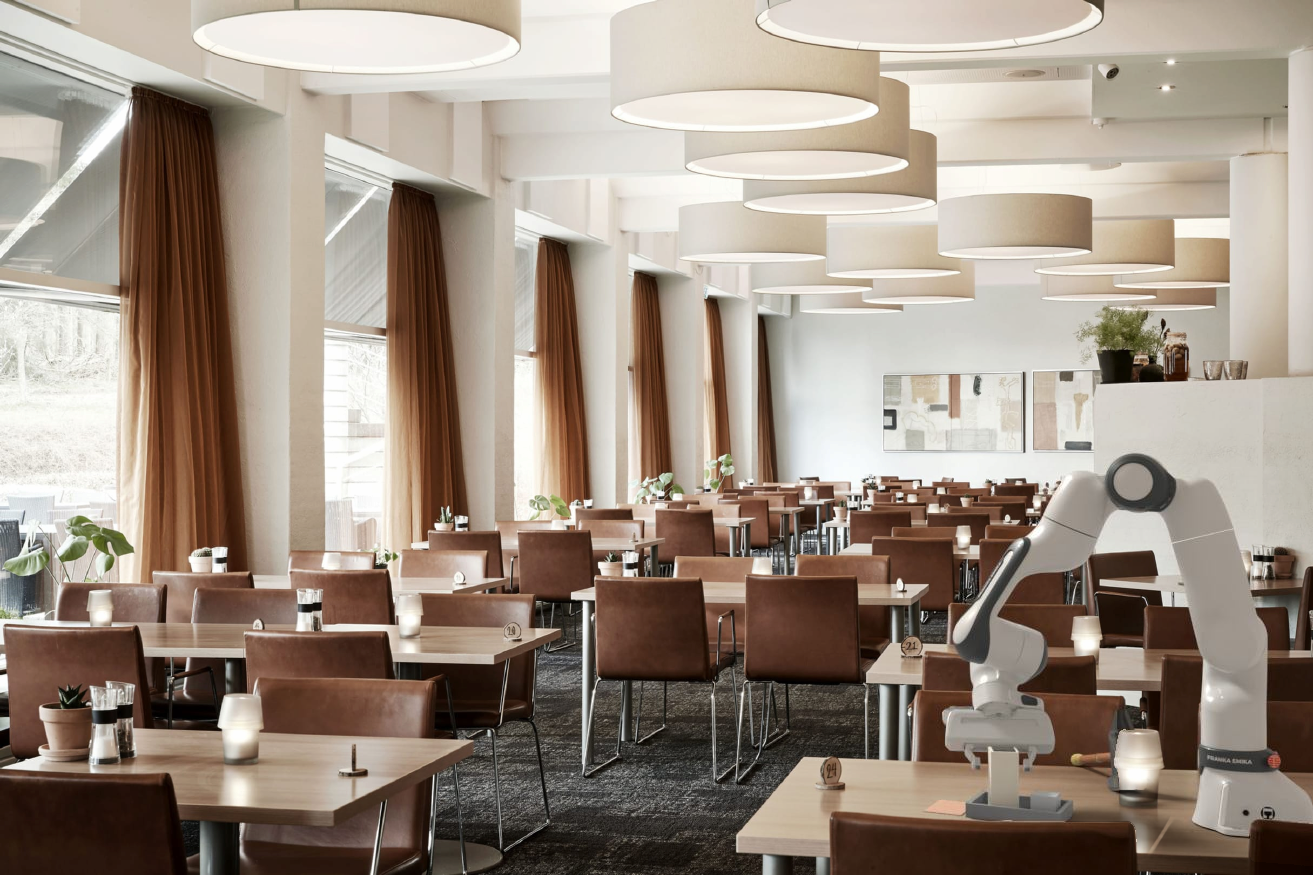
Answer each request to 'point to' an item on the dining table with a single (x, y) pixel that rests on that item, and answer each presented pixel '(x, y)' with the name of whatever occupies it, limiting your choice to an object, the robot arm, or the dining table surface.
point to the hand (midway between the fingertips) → (1002, 768)
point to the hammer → (1118, 724)
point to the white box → (1003, 776)
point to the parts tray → (1015, 810)
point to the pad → (948, 807)
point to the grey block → (1045, 801)
